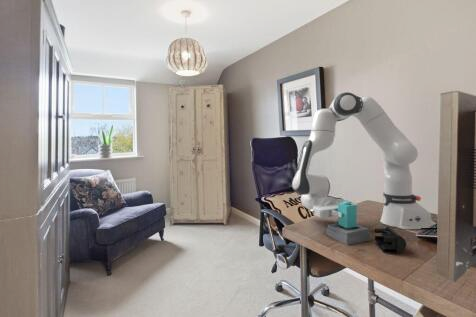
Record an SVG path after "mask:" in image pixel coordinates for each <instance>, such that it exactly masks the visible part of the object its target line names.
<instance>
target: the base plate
mask: <svg viewBox="0 0 476 317" xmlns="http://www.w3.org/2000/svg"><path fill="white" fill-rule="evenodd" d="M325 229H326V231H325V233H326V234H325V235H326V236H328V237H329V238H332V239H334V240H336V241H338V242H340V243H343V244H344V245H346V246H349V245H353V244H359V243H363V242H367V241H371V239H372V238H371V237H372V236H371V235H372V234H371V232H370V230H369V228H368V227H365V226H362V225H359V224H357V223H356V227H352V228H345V227H342V226H340V225H338V222H335V223H331V224H327V227H326V228H325Z"/></svg>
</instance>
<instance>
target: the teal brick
mask: <svg viewBox="0 0 476 317" xmlns="http://www.w3.org/2000/svg"><path fill="white" fill-rule="evenodd" d="M351 202H352V201H349V200H346V201H344V203H339V204H338V212H342V213H344V217H337V223H338V225H340V226H342V227H345V228H352V227H356V224H357V214H358V212H357V206H358V204H357V205H355V204H356V203H355V204H352V203H351Z"/></svg>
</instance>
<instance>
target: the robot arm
mask: <svg viewBox="0 0 476 317" xmlns="http://www.w3.org/2000/svg"><path fill="white" fill-rule="evenodd" d="M351 116H353V117H354V118H356V119H357V120H358V121H359V122H360V124H361V125H362V126H363V128H364V129H365V131H366V132H367V134H368V135H369V137H370V138H371V139H372V141H374V143H375V144H377V146H378V147H379V148H380V149H381V157H382V158H381V159H382V168H383V177H384V178H383V179H384V180H383V182H384V183H383V184H384V186H383V187H384V191H383V193H382V194H383V195H382V203H383V208H382V209H383V210H382V212H381V214H382V215H381V218H380V222H381V223H382V224H384V225H386V226H388V227H394V228H399V229H402V230H407V231H408V230H409V231H410V230H422V229H421V228H427V227H429V226H431V225H433V224H437V222H435V221H433V220H432V215H431V213H430V211H429V210H427V208H424V206H423V205H421V204H419V203H418V202H420V201H421V200H422V197H421V196H419V195H415V194H413V176H412V174H411V173H412V172H411V169H410V165H411V164H412V163H414V162H415V161H416V160H417V158H418V155H419V154H418V153H419V152H418V149H417V147H416V146H415V145H414V144H413V143H412V142H411V140H410V139H409V138H408V137H407V136H406V135H405V134H404V133H403V132H402V131H401V129H399V128H398V127H397V126H396V124H395V123H394V122H393V120H392V119H391V118H390V117H389V115H388V114H387V112H386V111H385V109H384V108H383V107H382V106H381V105H380V104H379V102H377V101H376V100H375V99H374V98H373V97H371V96H363V97H360V96H358V95H356V94H354V93H352V92H341V93H339V94H338V95H337V96H336V97H335V98H334V99H333V100H332V102H331V103H330V105H329V106H328V108H320V109H318V110H316V111H315V113H314V115H313V119H312V122H311V129H310V134H309V137H308V139H307V140H306V141H305V142H304V143H303V145H302V148H301V151H300V153H299V154H300V155H299V158H298V162H297V167H296V170H295V173H294V175H293V178H292V181H291V187H292V190H294V192H295V193H296V194H297V195H298V196H299V195H300V202H301V204H302V206H303V207H304V208H306V209H307V210H308V211H310V212H311V213H313V215H314V216H316V217H318V218H320V219H325V218H331V217H332V218H333V217H337V218H338V217H344V213H342V212H338V204H339V203H344V201H347V200H346V199H344V198H342V197H330V196H329V193H330V190H331V183H330V181H329V179H328V177H326V176H325V175H321V174H309V170H310V165H311V161H312V157H314V155H315V154H317V153H319V152H322V151H325V150H327V149H328V148H330V147H331V146H332V145H333V142H334V140H335V130H336V124H337V123H338V122H341V121H344V120H346V119H349V118H350V117H351ZM350 202H351V203H352V204H355V205H357V213H358V212H359V210H358V208H359V207H358V206H359V205H358V204H357V203H355V202H352V201H350Z"/></svg>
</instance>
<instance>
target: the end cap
mask: <svg viewBox="0 0 476 317" xmlns="http://www.w3.org/2000/svg"><path fill="white" fill-rule="evenodd" d="M374 233H375V234H380V235H374V241H375V243H374V244H375V245H376V246H377V247H378V248H379V249H380V251H382V252H383V254H390V255H391V254H393V255H395V254H399V253H401V252H403V251H404V250H406V247H407V241H406V238H404V237H403V236H402V235H400V234H399V233H398V232H396V231H395V230H394V229H393V228H391V226H385V228H374Z"/></svg>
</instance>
